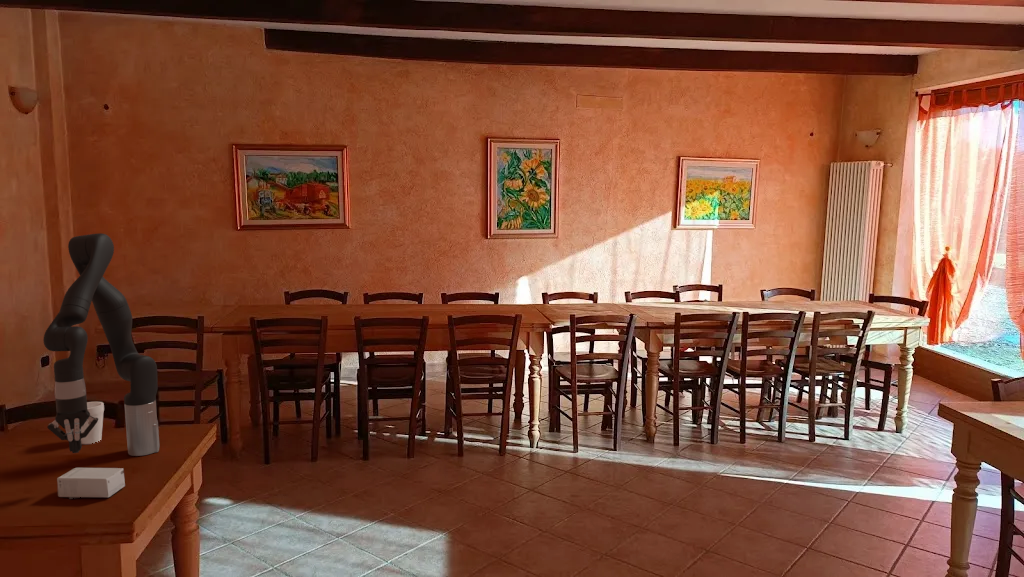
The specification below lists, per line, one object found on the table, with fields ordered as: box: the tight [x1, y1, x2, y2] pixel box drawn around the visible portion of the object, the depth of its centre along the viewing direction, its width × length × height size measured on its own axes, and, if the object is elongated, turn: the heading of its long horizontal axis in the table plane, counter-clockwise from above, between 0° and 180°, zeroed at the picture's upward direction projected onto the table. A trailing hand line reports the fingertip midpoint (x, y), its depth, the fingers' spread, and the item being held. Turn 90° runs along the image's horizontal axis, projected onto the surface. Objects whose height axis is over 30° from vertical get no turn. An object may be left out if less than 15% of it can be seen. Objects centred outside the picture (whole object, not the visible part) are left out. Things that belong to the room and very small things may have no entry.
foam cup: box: [81, 401, 105, 445], centre depth 239 cm, size 10×9×13 cm
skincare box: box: [56, 467, 126, 498], centre depth 196 cm, size 8×6×15 cm
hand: (75, 452), depth 199 cm, fingers closed
